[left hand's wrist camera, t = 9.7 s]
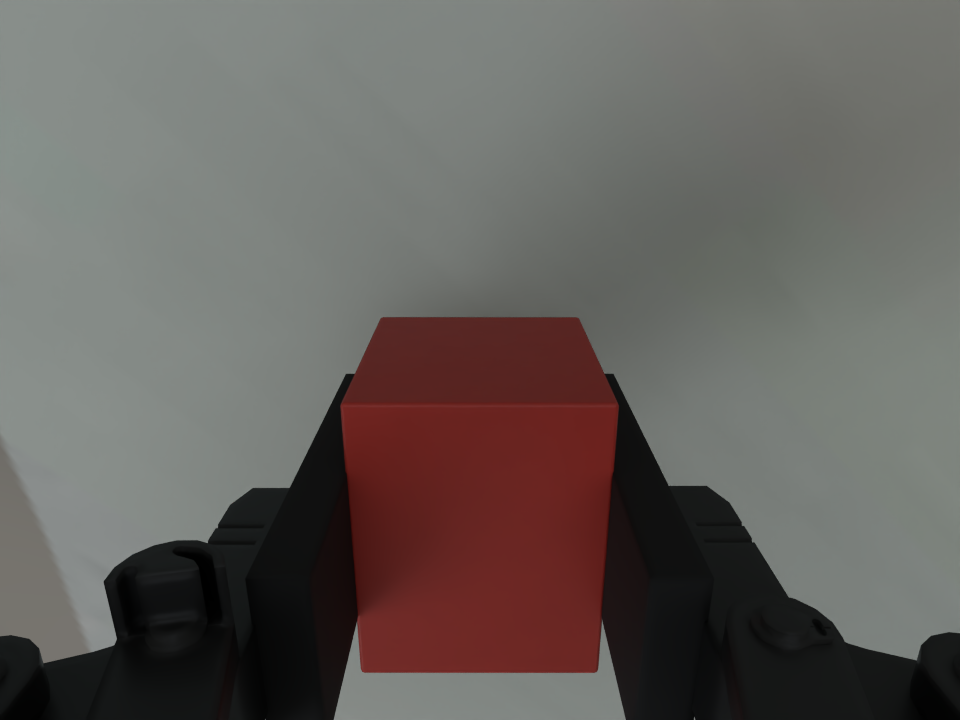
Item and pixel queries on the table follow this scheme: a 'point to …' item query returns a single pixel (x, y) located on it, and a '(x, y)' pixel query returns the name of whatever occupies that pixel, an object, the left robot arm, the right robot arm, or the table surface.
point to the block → (479, 495)
